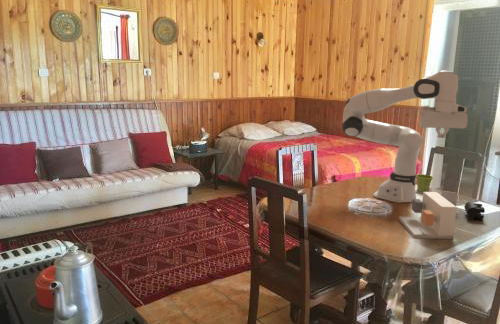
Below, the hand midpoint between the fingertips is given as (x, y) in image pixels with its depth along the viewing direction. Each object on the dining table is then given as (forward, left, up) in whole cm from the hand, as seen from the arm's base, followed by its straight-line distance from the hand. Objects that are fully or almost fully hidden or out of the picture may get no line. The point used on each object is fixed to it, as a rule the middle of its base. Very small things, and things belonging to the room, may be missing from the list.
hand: (441, 137), depth 189 cm
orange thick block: (+2, -24, -34) cm, 41 cm away
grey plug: (-5, -10, -34) cm, 35 cm away
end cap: (+16, +13, -39) cm, 45 cm away
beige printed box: (+4, +17, -39) cm, 43 cm away
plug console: (-1, -16, -39) cm, 42 cm away
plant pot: (-14, +49, -39) cm, 64 cm away
